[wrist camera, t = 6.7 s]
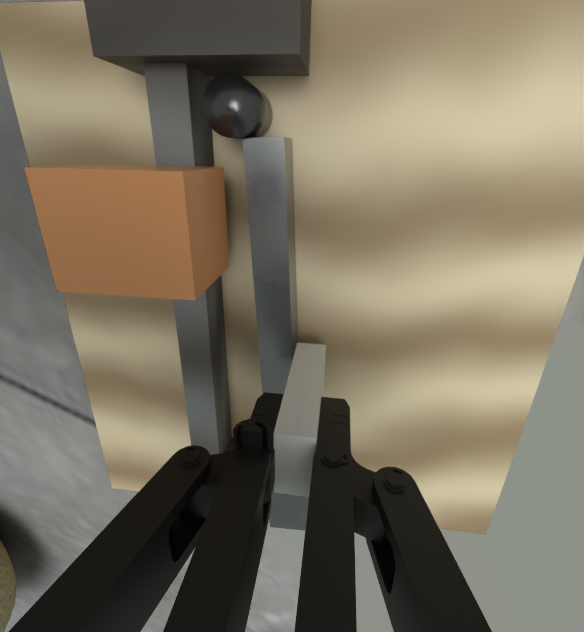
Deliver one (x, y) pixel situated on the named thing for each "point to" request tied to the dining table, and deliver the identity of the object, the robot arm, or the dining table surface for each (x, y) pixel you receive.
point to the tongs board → (333, 215)
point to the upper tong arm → (265, 241)
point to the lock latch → (132, 228)
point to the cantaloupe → (6, 587)
